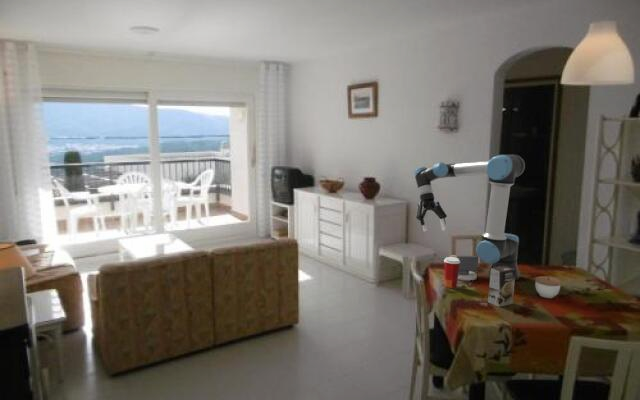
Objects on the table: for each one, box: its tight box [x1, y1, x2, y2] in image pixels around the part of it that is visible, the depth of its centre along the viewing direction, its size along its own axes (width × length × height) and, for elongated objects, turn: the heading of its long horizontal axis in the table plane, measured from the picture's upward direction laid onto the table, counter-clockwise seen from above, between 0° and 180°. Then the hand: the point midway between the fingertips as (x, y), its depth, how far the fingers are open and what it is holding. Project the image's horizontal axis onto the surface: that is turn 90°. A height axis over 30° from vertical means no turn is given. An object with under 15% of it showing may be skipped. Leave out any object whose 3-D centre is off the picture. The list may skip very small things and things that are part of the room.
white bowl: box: [534, 275, 562, 299], centre depth 211 cm, size 11×11×9 cm
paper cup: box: [443, 256, 460, 289], centre depth 222 cm, size 8×8×14 cm
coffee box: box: [487, 266, 516, 307], centre depth 201 cm, size 9×6×16 cm
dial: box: [449, 254, 479, 275], centre depth 237 cm, size 14×6×9 cm, turn 89°
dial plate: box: [457, 271, 478, 282], centre depth 238 cm, size 14×14×2 cm
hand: (435, 230), depth 248 cm, fingers open, 13 cm apart
